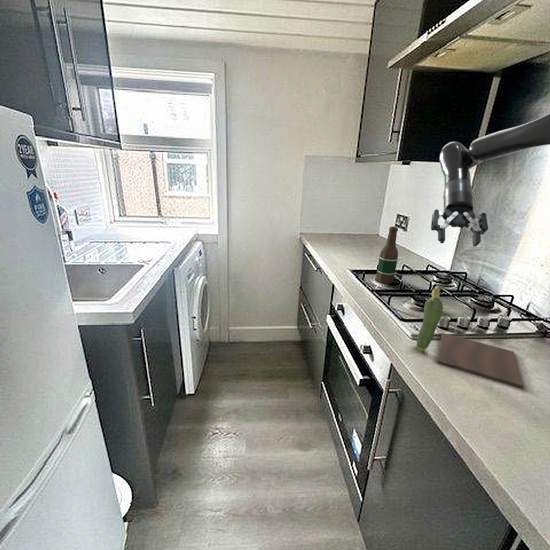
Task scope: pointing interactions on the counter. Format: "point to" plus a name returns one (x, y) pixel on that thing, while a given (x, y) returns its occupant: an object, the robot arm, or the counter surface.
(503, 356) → the board
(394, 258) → the beer bottle
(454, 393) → the counter surface
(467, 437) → the counter surface
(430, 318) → the vegetable
